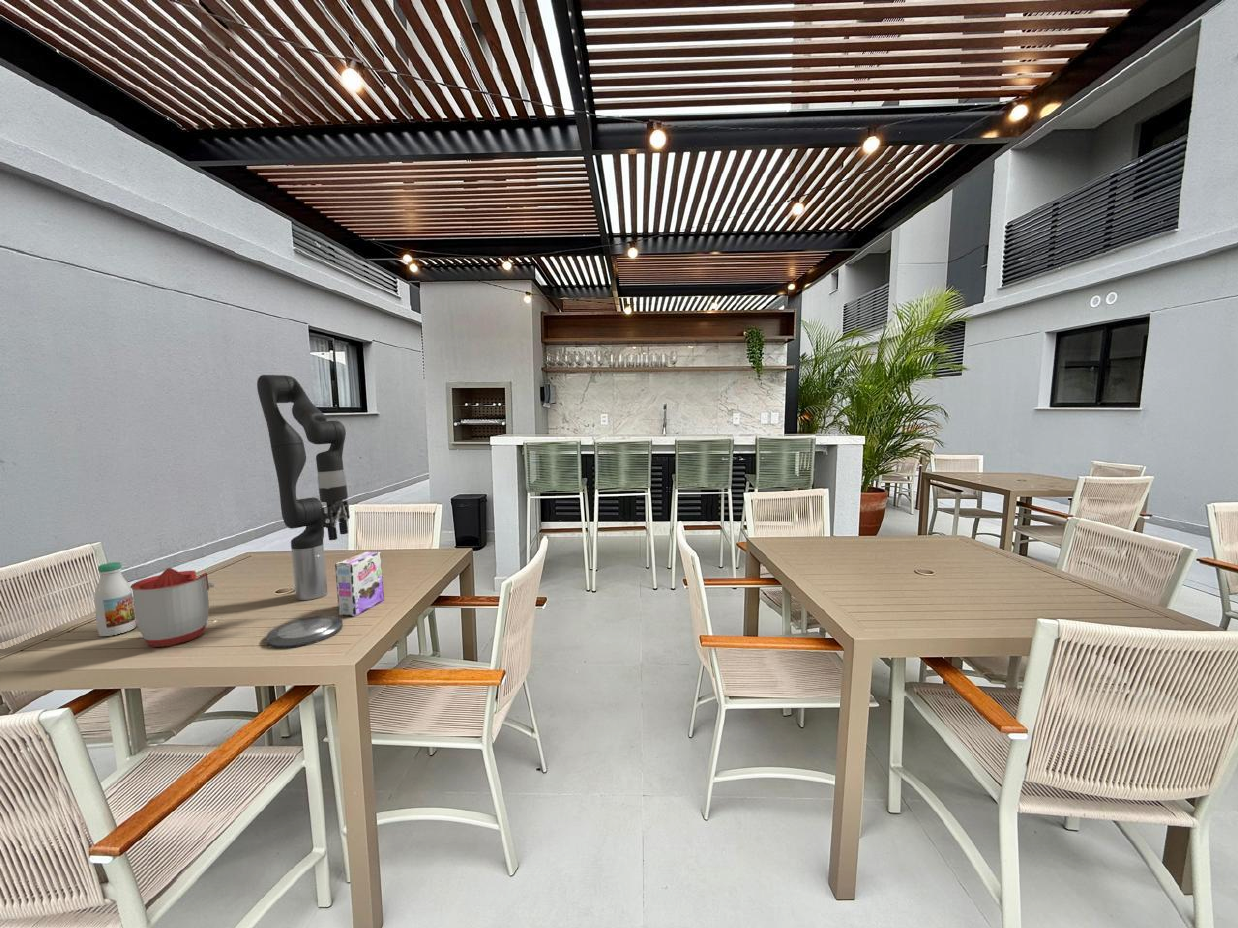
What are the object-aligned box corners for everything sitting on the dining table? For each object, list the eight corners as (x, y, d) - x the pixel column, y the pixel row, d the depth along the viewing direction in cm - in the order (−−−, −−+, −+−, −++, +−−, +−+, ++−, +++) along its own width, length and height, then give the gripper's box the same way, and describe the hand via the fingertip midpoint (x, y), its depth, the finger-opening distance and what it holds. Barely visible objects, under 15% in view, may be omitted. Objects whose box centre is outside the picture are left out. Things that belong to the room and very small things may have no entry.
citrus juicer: (232, 629, 144) (225, 561, 142) (156, 655, 128) (147, 579, 127) (201, 621, 151) (193, 556, 149) (125, 646, 135) (116, 573, 133)
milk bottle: (93, 640, 139) (84, 569, 137) (105, 630, 146) (97, 562, 144) (130, 633, 143) (121, 565, 141) (140, 624, 150) (132, 558, 148)
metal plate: (258, 635, 139) (257, 630, 139) (329, 615, 152) (328, 610, 152) (278, 654, 127) (277, 648, 127) (353, 630, 141) (352, 625, 140)
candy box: (355, 617, 151) (350, 563, 149) (338, 616, 152) (333, 563, 150) (385, 600, 164) (381, 551, 162) (369, 599, 165) (365, 550, 164)
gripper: (329, 484, 162) (335, 533, 163) (308, 489, 148) (315, 543, 149) (354, 481, 163) (359, 531, 164) (336, 487, 149) (342, 540, 150)
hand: (338, 536), depth 157 cm, fingers open, 8 cm apart
